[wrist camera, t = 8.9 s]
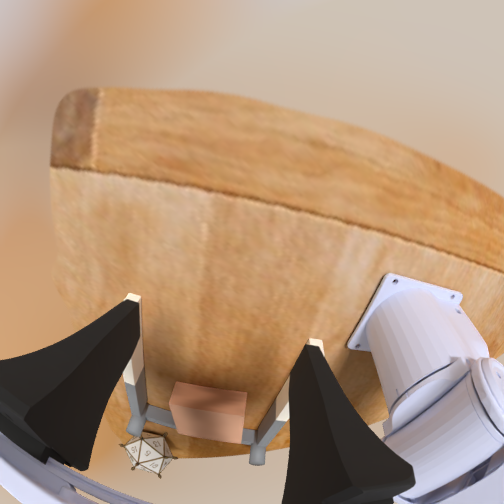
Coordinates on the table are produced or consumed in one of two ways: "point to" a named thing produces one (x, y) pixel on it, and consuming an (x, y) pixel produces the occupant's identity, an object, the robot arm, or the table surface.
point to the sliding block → (208, 412)
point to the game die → (149, 452)
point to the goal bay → (164, 417)
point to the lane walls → (137, 365)
